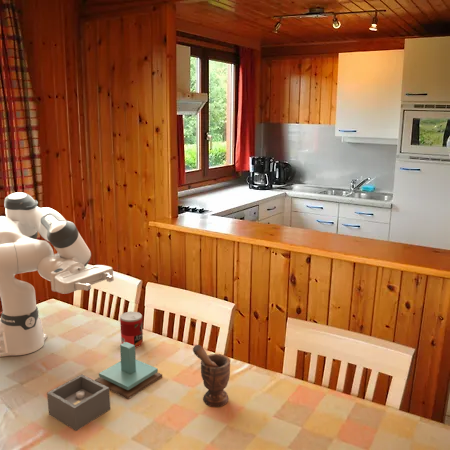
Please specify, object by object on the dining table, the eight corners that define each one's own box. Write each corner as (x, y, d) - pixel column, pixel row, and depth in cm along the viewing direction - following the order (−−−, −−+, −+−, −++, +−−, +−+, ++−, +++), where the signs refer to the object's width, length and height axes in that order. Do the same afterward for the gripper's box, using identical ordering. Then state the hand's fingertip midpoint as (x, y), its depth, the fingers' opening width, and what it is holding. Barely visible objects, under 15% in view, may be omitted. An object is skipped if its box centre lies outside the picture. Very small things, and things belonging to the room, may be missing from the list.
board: (94, 382, 154) (94, 379, 153) (129, 362, 166) (129, 360, 165) (127, 399, 145) (127, 396, 145) (162, 377, 157) (162, 374, 157)
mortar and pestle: (214, 417, 137) (214, 353, 132) (189, 408, 141) (188, 345, 136) (234, 397, 147) (235, 337, 142) (210, 388, 151) (211, 329, 146)
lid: (99, 379, 154) (97, 347, 151) (129, 362, 164) (128, 331, 161) (128, 393, 146) (126, 359, 144) (157, 374, 157) (157, 343, 154)
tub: (48, 414, 138) (47, 392, 136) (83, 394, 147) (81, 374, 145) (76, 430, 131) (74, 408, 129) (110, 409, 140) (109, 387, 139)
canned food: (138, 349, 175) (137, 321, 172) (117, 347, 176) (116, 319, 174) (146, 339, 182) (145, 312, 179) (126, 337, 184) (125, 310, 181)
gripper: (97, 275, 172) (125, 283, 164) (47, 292, 156) (75, 302, 148) (96, 258, 171) (124, 265, 163) (46, 273, 154) (74, 282, 147)
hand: (100, 283), depth 155 cm, fingers open, 8 cm apart
